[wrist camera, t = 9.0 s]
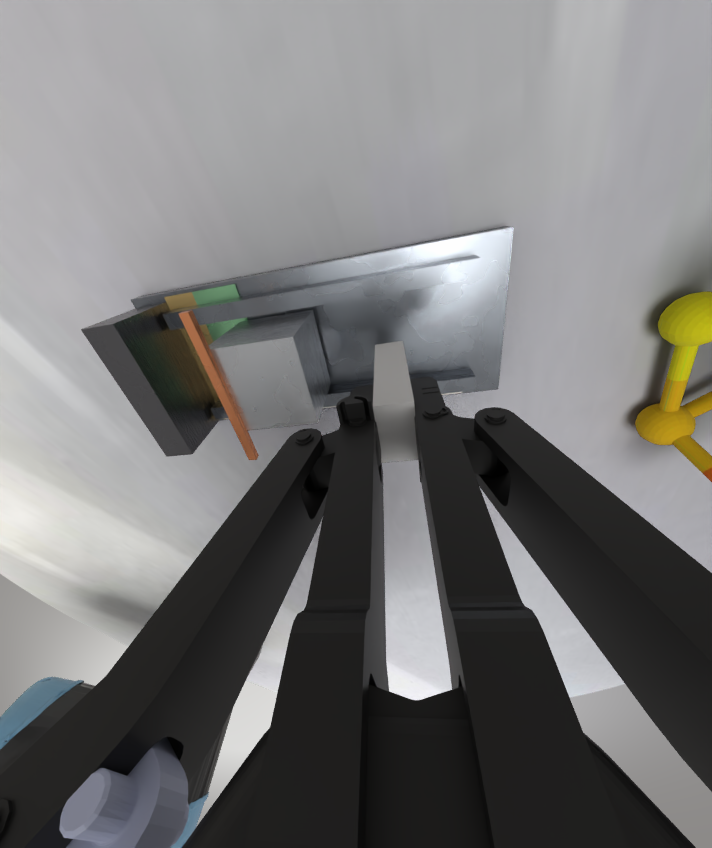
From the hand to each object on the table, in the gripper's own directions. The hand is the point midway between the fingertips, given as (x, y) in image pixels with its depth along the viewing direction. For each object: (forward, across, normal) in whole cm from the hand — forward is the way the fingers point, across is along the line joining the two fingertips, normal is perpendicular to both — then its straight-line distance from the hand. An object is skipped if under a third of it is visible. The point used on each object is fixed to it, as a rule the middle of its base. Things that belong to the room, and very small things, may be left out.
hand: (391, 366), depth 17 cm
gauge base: (+6, -5, 0) cm, 7 cm away
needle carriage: (+4, -7, 0) cm, 8 cm away
